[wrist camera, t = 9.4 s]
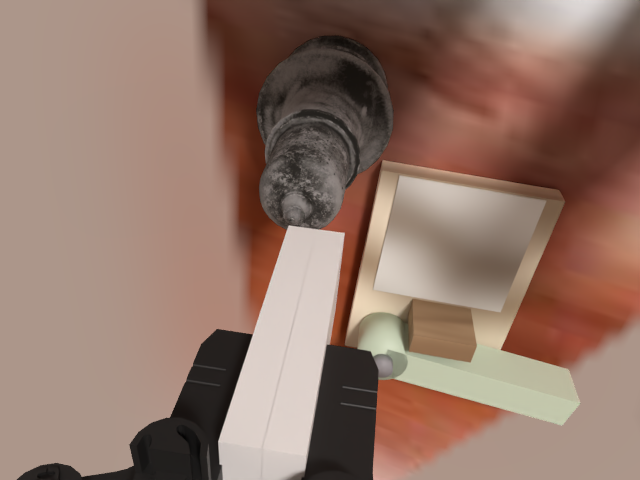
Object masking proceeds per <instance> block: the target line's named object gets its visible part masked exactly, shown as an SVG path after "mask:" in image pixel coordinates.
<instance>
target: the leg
mask: <svg viewBox="0 0 640 480" xmlns="http://www.w3.org/2000/svg"><path fill="white" fill-rule="evenodd" d="M357 349H360V350H367V351H371V353H372V355H373V358H374V360H375V363H376V365H377V367H378V370H379V374H378V379H379V380H388V379H397V380H400V381H404V382H407V383H411V384H415V385H418V386H422V387H425V388H429V389H433V390H436V391H440V392H443V393H447V394H451V395H454V396H458V397H461V398H465V399H469V400H472V401H476V402H479V403H483V404H487V405H490V406H494V407H497V408H501V409H505V410H508V411H512V412H515V413H519V414H523V415H526V416H530V417H533V418H537V419H541V420H544V421H548V422H551V423H555V424H559V425H563V424H564V423H565V421H566V420H567V419H568V418H569V417H570V415H571V414H572V413H573V412H574V410H575V409H576V408H577V407H578V406H579V404H580V401H579V398H578V395H577V392H576V389H575V386H574V384H573V381H572V378H571V375H570V372H569V369H565V368H562V367H558V366H555V365H551V364H548V363H544V362H541V361H537V360H533V359H530V358H526V357H523V356H519V355H516V354H512V353H509V352H505V351H502V350H498V349H495V348H491V347H487V346H484V345H480V344H477V348H476V350H475V353H474V355H473V358H472V360H471V363H469V362H464V361H458V360H453V359H447V358H442V357H436V356H431V355H425V354H420V353H414V352H409V337H408V324H406V323H404V321H403V320H402V319H400V318H399V317H398V316H396V315H394V314H391V313H385V312H380V313H374V314H371V315H369V316H367V317H366V318H364V319H363V320H362V322H361V324H360V326H359V336H358V347H357Z"/></svg>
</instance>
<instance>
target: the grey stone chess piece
mask: <svg viewBox="0 0 640 480" xmlns="http://www.w3.org/2000/svg"><path fill="white" fill-rule="evenodd" d="M256 112H257V122H258V129H259V131H260V134H261V137H262V139H263V142H264V144H265V145H266V146H265V160H266V164H267V165H266V167H265V169H264V171H263V173H262V176H261V179H260V185H259V194H260V202H261V204H262V207H263V209H264V211H265V212H266V214H267V215H268V216H269V218H270V219H271V220H272V221H274V222H275V223H276V224H277V225H279V226H281V227H283V228H284V229H286V230H287V229H288V226H296V227H304V228H311V229H318V230H319V229H321V228H323V227H325V226H327V225H328V224H329V223H330V222H331V221H332V220H333V219H334V218H335V216H336V215H337V213H338V212H339V210H340V209H341V205H342V202H343V198H344V193H345V190H346V189H347V188H348V187H349V186H350V185H351V184H352V182H353V181H354V179H355V177H356V176H357V174H359V173H361V172H363V171H365V170H366V169H368V168H369V167H370V166H371V165H372V164H373V163H374V162H376V161H377V160H378V159H379V157H380V156H381V154H382V153H383V151H384V150H385V148H386V147H387V145H388V142H389V139H390V136H391V133H392V130H393V112H394V110H393V106H392V102H391V98H390V94H389V92H388V84H387V80H386V76H385V72H384V70H383V68H382V66H381V64H380V63H379V61H378V59H377V58H376V57H375V56H374V55H373V54H372V53H371V51H370V50H369V49H368V48H367V47H365V46H363V45H361V44H360V43H358V42H356V41H355V40H352V39H349V38H345V37H341V36H322V37H319V38H315V39H312V40H309V41H307V42H306V43H304V44H302V45H301V46H299V47H298V48H296V50H295V51H294V52H293V53H292V54H291V55H290V56H289V57H288V58H287V59H286V60H284V61H282V62H281V63H279V64H278V65H277V66H276V68H275V69H274V70H273V71H272V72H271V73H270V74H269V75H268V76H267V78H266V80H265V82H264V84H263V86H262V88H261V91H260V93H259V97H258V103H257V109H256Z"/></svg>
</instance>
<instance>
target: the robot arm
mask: <svg viewBox="0 0 640 480" xmlns="http://www.w3.org/2000/svg"><path fill="white" fill-rule="evenodd" d="M344 235H345V233H340V232H333V231H325V230H318V229H311V228H304V227H296V226H288V229H287V232H286V235H285V238H284V241H283V244H282V247H281V250H280V253H279V256H278V259H277V263H276V266H275V269H274V272H273V275H272V278H271V281H270V284H269V287H268V290H267V293H266V296H265V299H264V302H263V306H262V309H261V312H260V315H259V318H258V321H257V324H256V327H255V330H254V333H253V334H246V333H239V332H233V331H226V330H219V329H217V330H216V331H215V332H214V333H213V334H211V336H209V337H208V338H207V339H206V340H205V341H204V342H203V343H202V344H201V346H200V348H199V351H198V353H197V356H196V358H195V360H194V363H193V367H192V368H191V370H190V372H189V374H188V377H187V381H186V382H185V384H184V386H183V388H182V391H181V393H180V396H179V398H178V401H177V403H176V405H175V408H174V410H173V412H172V414H171V417H170V418H165V419H162V420H159V421H156V422H153V423H151V424H149V425H148V426H146V427H145V428H144V429H142V430H141V431H140V432H138V434H137V435H136V436H135V438H134V439H133V441H132V442H131V443H130V449H131V454H132V459H133V463H134V466H132V467H130V468H128V469H125V470H121V471H117V472H111V473H105V474H99V475H91V476H85V477H81V475H80V473H78V472H77V471H76V470H75V469H74V468H72V467H71V466H68V465H63V464H59V463H54V464H47V465H41V466H39V467H36V468H34V469H32V470H30V471H28V472H25V473H24V474H23V475H22V476H20V477H19V478H18V479H17V480H373V456H374V440H375V423H376V407H377V391H378V374H379V370H378V367H377V365H376V363H375V360H374V358H373V355H372V353H371V351H367V350H360V349H354V348H347V347H341V346H334V345H330V339H331V333H332V327H333V321H334V315H335V309H336V301H337V292H338V284H339V276H340V268H341V260H342V251H343V243H344Z"/></svg>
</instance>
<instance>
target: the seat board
mask: <svg viewBox="0 0 640 480" xmlns="http://www.w3.org/2000/svg"><path fill="white" fill-rule="evenodd" d="M564 203H565V200H564V198H563V196H562V194H561V192H560V191H559V190H556V189H550V188H544V187H538V186H532V185H526V184H520V183H514V182H509V181H503V180H497V179H491V178H485V177H479V176H473V175H467V174H462V173H456V172H450V171H444V170H438V169H432V168H426V167H420V166H415V165H409V164H403V163H397V162H391V161H385V160H382V165H381V169H380V174H379V179H378V184H377V188H376V193H375V198H374V203H373V207H372V212H371V217H370V222H369V226H368V231H367V236H366V241H365V245H364V250H363V255H362V259H361V264H360V269H359V274H358V278H357V283H356V288H355V293H354V297H353V302H352V307H351V312H350V316H349V321H348V326H347V331H346V338H345V346H350V347H356V348H357V347H358V336H359V326H360V324H361V322H362V320H363V319H364V318H366V317H367V316H369V315H371V314H374V313H380V312H385V313H391V314H394V315H396V316H398V317H399V318H400V319H402V320H403V321H404V323H406V324H408V337H409V352H414V353H420V354H425V355H431V356H436V357H442V358H447V359H453V360H458V361H464V362H469V363H471V360H472V358H473V355H474V353H475V350H476V348H477V344H480V345H484V346H487V347H491V348H495V349H498V350H501V348H502V345H503V343H504V341H505V339H506V336H507V334H508V332H509V329H510V327H511V325H512V323H513V320H514V318H515V316H516V313H517V311H518V309H519V307H520V304H521V302H522V300H523V297H524V295H525V293H526V290H527V288H528V286H529V284H530V281H531V279H532V277H533V274H534V272H535V270H536V268H537V265H538V263H539V261H540V258H541V256H542V254H543V252H544V249H545V247H546V245H547V242H548V240H549V238H550V236H551V233H552V231H553V229H554V226H555V224H556V222H557V219H558V217H559V215H560V213H561V210H562V208H563V206H564Z"/></svg>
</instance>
